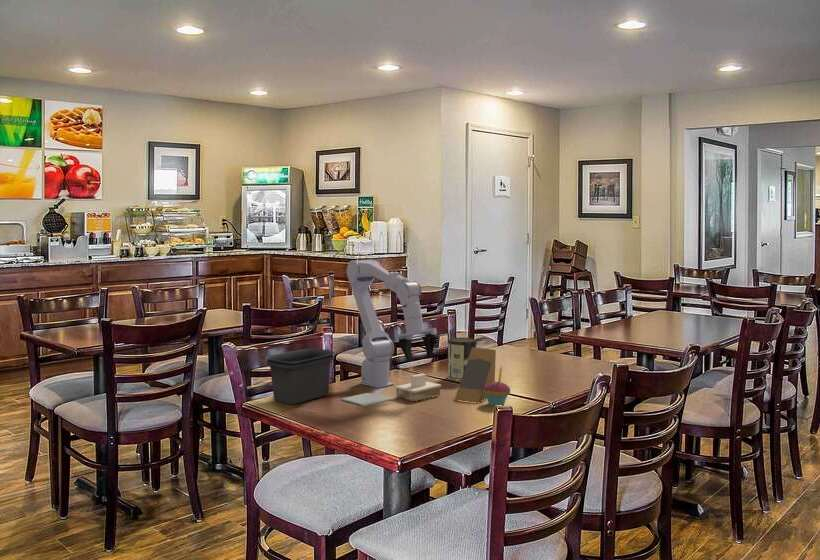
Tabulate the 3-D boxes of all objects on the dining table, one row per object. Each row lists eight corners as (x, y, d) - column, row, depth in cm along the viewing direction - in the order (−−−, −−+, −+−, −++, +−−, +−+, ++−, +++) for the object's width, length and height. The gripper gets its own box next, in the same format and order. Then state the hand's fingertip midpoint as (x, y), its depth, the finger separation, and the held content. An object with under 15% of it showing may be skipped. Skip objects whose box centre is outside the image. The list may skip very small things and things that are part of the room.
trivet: (341, 400, 234) (341, 398, 234) (367, 394, 242) (367, 392, 242) (364, 406, 227) (364, 404, 227) (390, 400, 235) (390, 398, 235)
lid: (395, 390, 238) (395, 375, 238) (422, 384, 247) (422, 370, 247) (414, 395, 232) (414, 380, 232) (441, 388, 241) (441, 374, 241)
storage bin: (290, 408, 224) (290, 361, 222) (256, 400, 233) (256, 355, 232) (339, 395, 240) (339, 352, 239) (306, 388, 250) (306, 346, 249)
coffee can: (474, 375, 273) (475, 337, 272) (477, 381, 262) (477, 342, 261) (446, 375, 273) (447, 337, 272) (447, 381, 263) (448, 341, 261)
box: (396, 397, 238) (396, 388, 238) (422, 391, 247) (422, 382, 247) (414, 401, 233) (414, 392, 233) (440, 395, 241) (440, 386, 241)
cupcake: (494, 399, 236) (495, 362, 235) (516, 404, 230) (516, 366, 229) (477, 404, 230) (477, 366, 229) (498, 409, 224) (499, 370, 223)
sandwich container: (452, 401, 235) (453, 354, 234) (470, 391, 249) (471, 347, 247) (477, 404, 231) (478, 357, 230) (495, 394, 245) (495, 349, 244)
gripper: (388, 322, 241) (394, 364, 239) (426, 314, 233) (433, 357, 232) (399, 321, 247) (406, 362, 245) (437, 314, 239) (444, 356, 238)
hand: (420, 360), depth 239 cm, fingers open, 7 cm apart
